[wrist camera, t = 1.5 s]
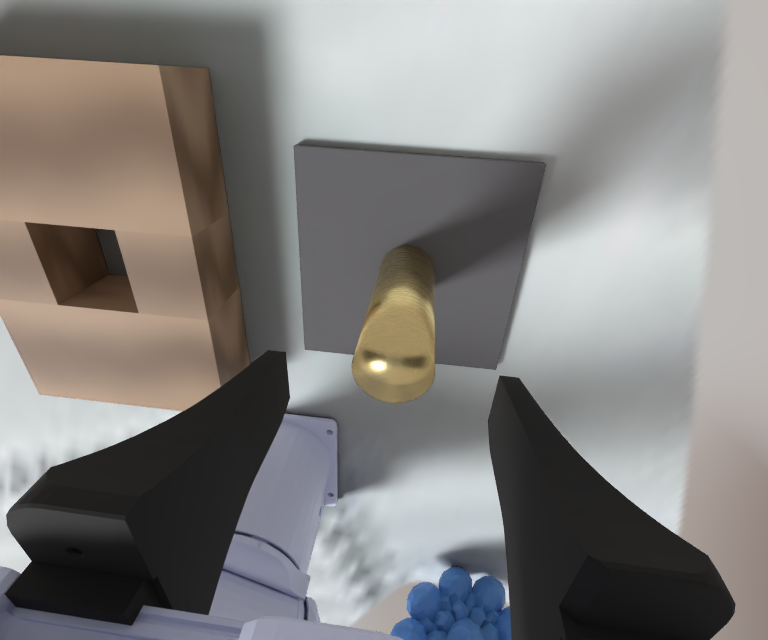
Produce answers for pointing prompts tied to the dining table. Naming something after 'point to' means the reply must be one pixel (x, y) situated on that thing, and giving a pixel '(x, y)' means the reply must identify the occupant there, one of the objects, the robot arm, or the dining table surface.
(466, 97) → the dining table surface
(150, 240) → the walnut block
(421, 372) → the brass pin
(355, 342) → the rubber mat
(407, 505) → the dining table surface
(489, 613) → the blue thick lobed disc
